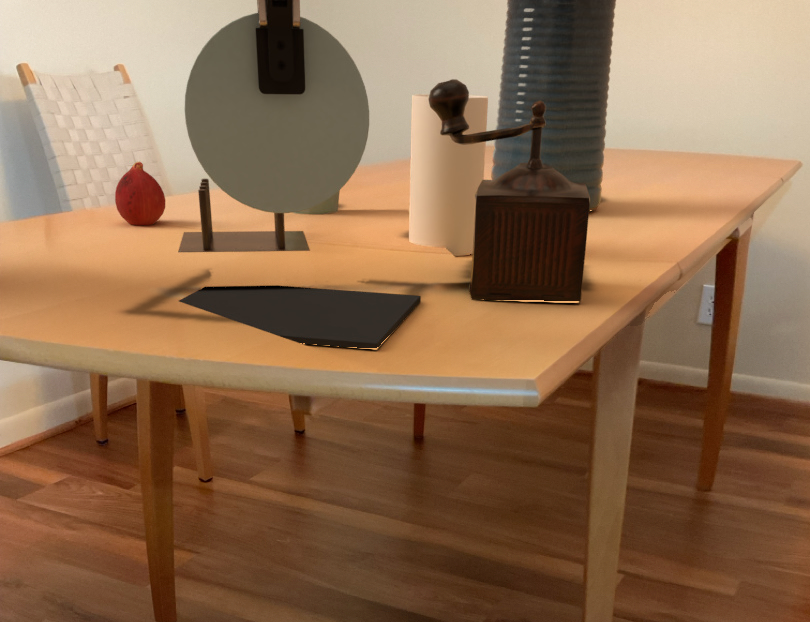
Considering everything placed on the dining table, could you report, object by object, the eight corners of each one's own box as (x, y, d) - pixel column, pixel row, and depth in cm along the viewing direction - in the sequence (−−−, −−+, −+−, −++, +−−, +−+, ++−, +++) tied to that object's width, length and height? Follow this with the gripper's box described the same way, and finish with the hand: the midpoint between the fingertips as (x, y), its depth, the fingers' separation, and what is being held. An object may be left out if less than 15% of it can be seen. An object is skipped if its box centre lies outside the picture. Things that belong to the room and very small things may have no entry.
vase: (622, 209, 135) (653, -43, 120) (551, 220, 125) (575, -53, 111) (537, 196, 146) (556, -37, 131) (465, 205, 136) (477, -46, 121)
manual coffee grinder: (577, 279, 93) (597, 81, 85) (582, 305, 83) (606, 85, 75) (425, 272, 95) (430, 78, 86) (413, 298, 85) (418, 81, 76)
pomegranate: (133, 237, 109) (124, 165, 105) (110, 230, 112) (101, 160, 109) (176, 232, 112) (170, 162, 108) (153, 226, 116) (146, 158, 112)
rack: (310, 259, 99) (308, 191, 96) (178, 261, 97) (171, 191, 94) (303, 239, 110) (301, 177, 106) (184, 240, 108) (178, 177, 104)
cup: (453, 259, 101) (460, 98, 93) (394, 249, 105) (396, 95, 98) (493, 248, 107) (502, 96, 99) (435, 240, 111) (440, 93, 103)
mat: (136, 330, 74) (135, 323, 73) (216, 287, 87) (215, 280, 87) (377, 351, 70) (377, 343, 69) (420, 302, 84) (420, 295, 83)
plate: (374, 207, 69) (363, 7, 62) (199, 219, 67) (170, 15, 61) (372, 204, 70) (361, 7, 63) (200, 216, 68) (171, 16, 62)
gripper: (208, -213, 62) (228, 88, 71) (200, -286, 49) (226, 98, 57) (319, -207, 63) (325, 89, 72) (340, -276, 50) (345, 99, 58)
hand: (281, 91), depth 65 cm, fingers closed on plate, 1 cm apart
